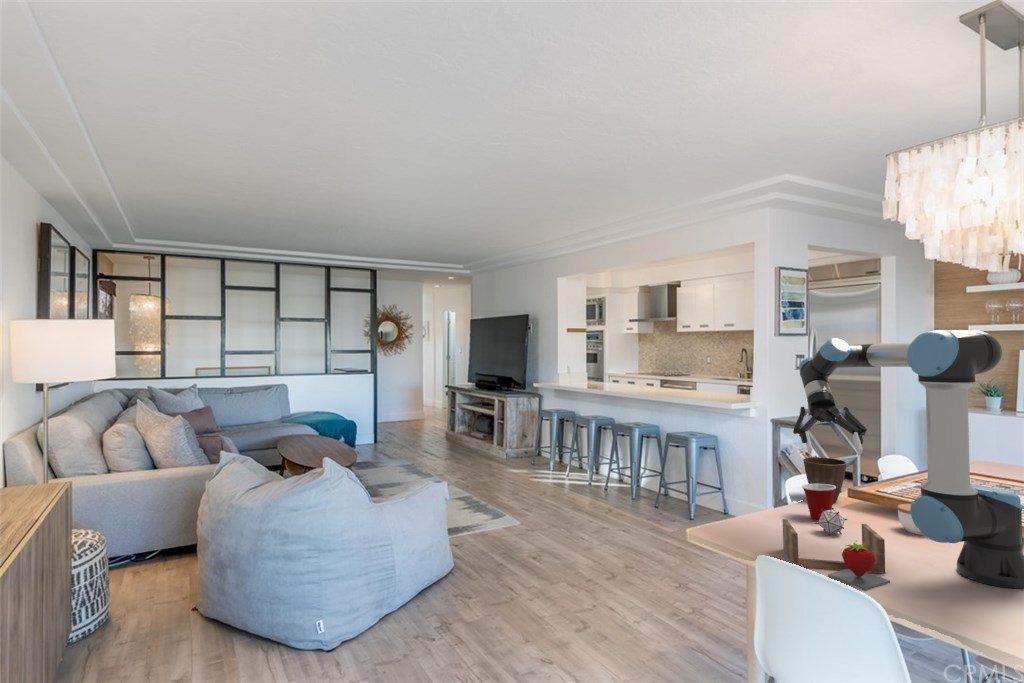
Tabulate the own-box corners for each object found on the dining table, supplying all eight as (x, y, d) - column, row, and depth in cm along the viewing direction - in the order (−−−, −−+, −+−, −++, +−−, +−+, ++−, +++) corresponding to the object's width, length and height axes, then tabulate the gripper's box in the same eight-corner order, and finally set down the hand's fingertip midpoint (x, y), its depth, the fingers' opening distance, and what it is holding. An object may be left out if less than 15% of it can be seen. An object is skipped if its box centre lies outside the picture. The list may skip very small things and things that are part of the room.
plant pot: (850, 500, 222) (849, 459, 222) (844, 508, 211) (843, 466, 211) (808, 494, 232) (807, 455, 232) (800, 502, 220) (799, 461, 220)
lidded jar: (943, 532, 182) (943, 503, 182) (930, 539, 176) (929, 509, 176) (906, 524, 191) (905, 497, 191) (892, 530, 184) (891, 502, 185)
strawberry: (879, 583, 142) (877, 544, 142) (845, 580, 145) (843, 541, 145) (872, 573, 148) (871, 536, 148) (840, 570, 150) (838, 533, 150)
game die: (838, 546, 181) (854, 527, 175) (811, 536, 183) (826, 516, 177) (835, 526, 188) (850, 506, 183) (809, 515, 190) (823, 496, 184)
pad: (890, 582, 144) (890, 580, 144) (866, 590, 139) (866, 588, 139) (852, 569, 153) (852, 567, 153) (828, 576, 148) (828, 574, 148)
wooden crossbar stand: (783, 549, 169) (782, 519, 169) (867, 555, 163) (866, 524, 163) (793, 566, 156) (792, 533, 156) (885, 573, 150) (884, 539, 150)
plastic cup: (808, 513, 206) (808, 480, 206) (841, 519, 198) (840, 485, 198) (797, 519, 198) (796, 485, 199) (830, 525, 190) (829, 490, 191)
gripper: (859, 405, 183) (878, 460, 168) (776, 404, 189) (788, 457, 174) (865, 390, 177) (885, 445, 163) (779, 390, 184) (791, 443, 169)
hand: (835, 451), depth 168 cm, fingers open, 13 cm apart
